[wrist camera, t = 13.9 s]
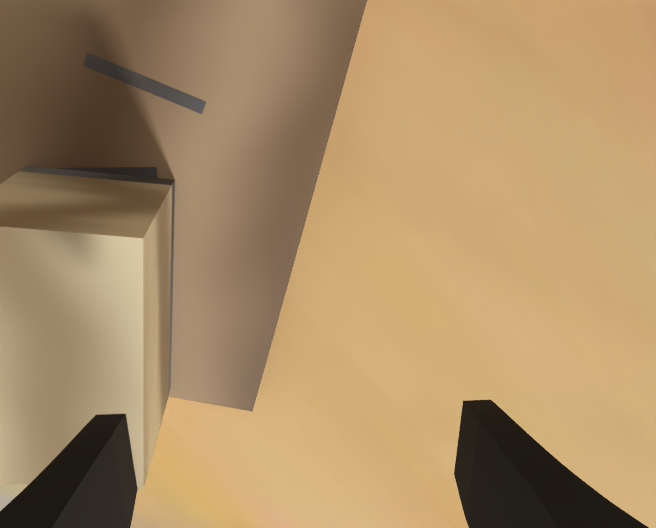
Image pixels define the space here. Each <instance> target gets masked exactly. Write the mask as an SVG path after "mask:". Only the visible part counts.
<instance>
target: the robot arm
mask: <svg viewBox="0 0 656 528" xmlns="http://www.w3.org/2000/svg"><path fill="white" fill-rule="evenodd" d="M454 475H455V479H456V483H457V487H458V491H459V495H460V499H461V503H462V507H463V510H464V514H465V518H466V520H467V523H468V526H469V528H648V527H647V526H645V525H644V524H642V523H641V522H639V521H638V520H636V519H635V518H633V517H632V516H630V515H629V514H627V513H626V512H624V511H623V510H621V509H620V508H619V507H617V506H616V505H614V504H613V503H611V502H610V501H609V500H607V499H606V498H605V497H603V496H602V495H600V494H599V493H598V492H597V491H595V490H594V489H593V488H591V487H590V486H589V485H588V484H586V483H585V482H584V481H582V480H581V479H580V478H579V477H577V476H576V475H575V474H574V473H572V472H571V471H570V470H569V469H568V468H566V467H565V466H564V465H563V464H561V463H560V462H559V461H558V460H557V459H556V458H554V457H553V456H552V455H551V454H550V453H549V452H548V451H546V450H545V449H544V448H543V447H542V446H541V445H540V444H538V443H537V442H536V441H535V440H534V439H533V438H532V437H531V436H530V435H529V434H527V433H526V432H525V431H524V430H523V429H522V428H521V427H520V426H519V425H518V424H517V423H516V422H514V421H513V420H512V419H511V418H510V417H509V416H508V415H507V414H506V413H505V412H504V411H503V410H502V409H500V408H499V407H498V406H497V405H496V404H495V403H494V402H493V401H492V400H473V401H463V407H462V415H461V423H460V431H459V439H458V447H457V455H456V463H455V471H454ZM136 493H137V483H136V476H135V470H134V463H133V457H132V450H131V444H130V437H129V431H128V424H127V418H126V414H101V415H95V416H94V417H93V418H92V419H91V420H90V421H89V422H88V423H87V424H86V425H85V426H84V428H83V429H82V430H81V431H80V432H79V433H78V434H77V435H76V436H75V437H74V438H73V439H72V440H71V441H70V443H69V444H68V445H67V446H66V447H65V448H64V449H63V450H62V451H61V452H60V453H59V454H58V455H57V456H56V457H55V458H54V459H53V461H52V462H51V463H50V464H49V465H48V466H47V467H46V468H45V469H44V470H43V471H42V472H41V473H40V474H39V475H38V476H37V477H36V478H35V479H34V480H33V481H32V482H31V483H30V484H29V485H28V486H27V487H26V488H25V489H24V490H23V491H22V492H21V493H20V494H19V495H18V496H16V497H15V498H14V499H13V500H12V501H11V502H10V503H9V504H8V505H7V506H6V507H5V508H4V509H2V510H1V511H0V528H130V526H131V521H132V516H133V510H134V505H135V499H136Z"/></svg>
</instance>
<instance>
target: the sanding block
mask: <svg viewBox="0 0 656 528" xmlns="http://www.w3.org/2000/svg"><path fill="white" fill-rule="evenodd" d="M174 206H175V180H171V179H161V178H150V177H140V176H129V175H119V174H108V173H98V172H87V171H76V170H66V169H55V168H45V167H34V166H26V167H24V168H23V169H21V170H20V171H19V172H17V173H16V174H14V175H13V176H11V177H10V178H8V179H7V180H6V181H4V182H3V183H1V184H0V483H1V484H30V483H31V482H32V481H33V480H34V479H35V478H36V477H37V476H38V475H39V474H40V473H41V472H42V471H43V470H44V469H45V468H46V467H47V466H48V465H49V464H50V463H51V462H52V461H53V459H54V458H55V457H56V456H57V455H58V454H59V453H60V452H61V451H62V450H63V449H64V448H65V447H66V446H67V445H68V444H69V443H70V441H71V440H72V439H73V438H74V437H75V436H76V435H77V434H78V433H79V432H80V431H81V430H82V429H83V428H84V426H85V425H86V424H87V423H88V422H89V421H90V420H91V419H92V418H93V417H94V416H95V415H101V414H126V418H127V424H128V431H129V437H130V444H131V450H132V457H133V463H134V470H135V476H136V483H137V488H140V489H143V488H144V485H145V481H146V477H147V474H148V470H149V466H150V462H151V459H152V455H153V451H154V448H155V444H156V440H157V437H158V433H159V429H160V426H161V422H162V418H163V414H164V411H165V407H166V403H167V400H168V396H169V392H170V389H171V349H172V301H173V253H174Z"/></svg>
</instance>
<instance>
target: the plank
mask: <svg viewBox="0 0 656 528" xmlns="http://www.w3.org/2000/svg"><path fill="white" fill-rule="evenodd" d="M366 2H367V0H0V184H1V183H3V182H4V181H6V180H7V179H8V178H10V177H11V176H13V175H14V174H16V173H17V172H19V171H20V170H21V169H23V168H24V167H26V166H34V167H45V168H55V169H66V170H76V171H87V172H98V173H108V174H119V175H129V176H140V177H150V178H161V179H171V180H175V206H174V253H173V301H172V349H171V389H170V392H169V396H168V397H174V398H180V399H185V400H191V401H197V402H202V403H208V404H214V405H219V406H225V407H231V408H236V409H242V410H248V411H253V407H254V404H255V400H256V397H257V393H258V389H259V386H260V382H261V379H262V375H263V371H264V368H265V364H266V361H267V357H268V353H269V350H270V346H271V343H272V339H273V336H274V332H275V328H276V325H277V321H278V318H279V314H280V310H281V307H282V303H283V300H284V296H285V292H286V289H287V285H288V282H289V278H290V275H291V271H292V267H293V264H294V260H295V257H296V253H297V249H298V246H299V242H300V239H301V235H302V231H303V228H304V224H305V221H306V217H307V214H308V210H309V206H310V203H311V199H312V196H313V192H314V188H315V185H316V181H317V178H318V174H319V170H320V167H321V163H322V160H323V156H324V153H325V149H326V145H327V142H328V138H329V135H330V131H331V127H332V124H333V120H334V117H335V113H336V109H337V106H338V102H339V99H340V95H341V92H342V88H343V84H344V81H345V77H346V74H347V70H348V66H349V63H350V59H351V56H352V52H353V48H354V45H355V41H356V38H357V34H358V31H359V27H360V23H361V20H362V16H363V13H364V9H365V5H366Z"/></svg>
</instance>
